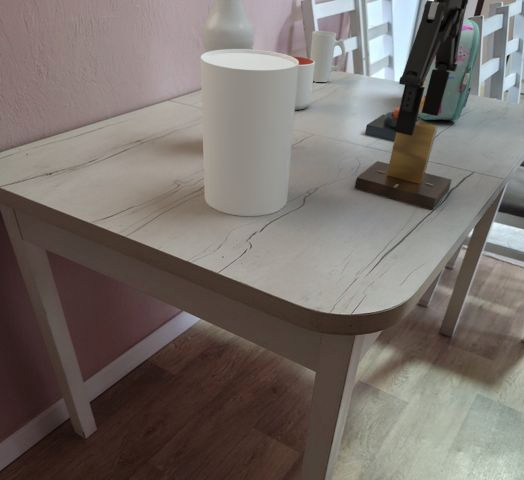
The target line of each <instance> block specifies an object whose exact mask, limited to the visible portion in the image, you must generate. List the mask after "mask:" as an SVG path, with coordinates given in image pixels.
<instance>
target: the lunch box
mask: <svg viewBox="0 0 524 480" xmlns="http://www.w3.org/2000/svg"><path fill="white" fill-rule="evenodd" d="M480 37H481V33H480V28H479V25H478V23H476V22H475V21H474V20H472V19H468V18H465V17H464V20H463V25H462V31H461V36H460V42H459V48H458V53H457V61H456V63H455V64H457V68H456V70H455V72H453V71H447V72H450V74H449V77H448V81H447V84H446V88H445V92H444V95H443V99H442V103H441V106H440V110H439V113H438V115H437V116H435V115H430V114H425V113H421V112H422V108H423V105H424V101H425V97H426V93H427V89H428V85H429V81H430V77H431V73H432V70H433V69H435V70H437V69H436V68H435V61H436V55H435V57H434V60H433V62H432V65H431V67H430V69H429V72H428V74H427V76H426V79H425V81H424V84H423V86H422V87H425V88H424V92H423V96H422V100H421V104H420V108H419V112H418V116H417V117H418V118H419V119H422V120H425V121H429V120H430V121H453V122H454V121H457V120H459V118H460V117H461V114H462V111H463V110H464V108H465V107H466V106H467V103H468V99H469V96H470V92H471V89H472V87H470V85H471V82H472V78H473V73H474V69H475V65H476V61H477V57H478V53H479V48H480V40H481V38H480Z"/></svg>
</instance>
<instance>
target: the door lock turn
mask: <svg viewBox="0 0 524 480" xmlns="http://www.w3.org/2000/svg"><path fill="white" fill-rule="evenodd" d="M437 132H438V125H434V124H429V123H424V122H420V121H418V122H416V124H415V128H414V132H413V135H412V136H411V135H406V134H402V133H398V132H396V136H395V141H393V145H392V149H391V154H390V159H389V163H388V164H389V168H388V172H387V176H391V177H395V178H399V179H403V180H406V181H410V182H414V183H418V184H420V183H421V182H422V181H423V179H424V175H425V173H426V171H427V169H428V168H427V167H428V165H429V164H428V163H429V160H430V157H431V153H432V150H433V145H434V142H435V139H436V135H437Z"/></svg>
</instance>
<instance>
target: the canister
mask: <svg viewBox="0 0 524 480" xmlns="http://www.w3.org/2000/svg"><path fill="white" fill-rule="evenodd" d="M291 56H292V55H289V54H286V53H280V52H275V51H269V50H261V49H252V50H251V49H225V50H215V51H210V52H206V53H205V52H203V53H202V54H201V55H200V80H201V81H200V82H201V113H202V114H201V118H202V151H203V152H202V155H203V183H204V184H203V185H204V188H203V189H204V201H205V202H206V204H207V205H208V206H209V207H211V208H212V209H214V210H216V211H218V212H221V213H223V214H228V215H232V216H237V217H238V216H240V217H260V216H261V217H262V216H266V215H269V214H270V215H271V214H273V213H276V212H279V211H280V210H282V209H283V208H284V207H285V206H286V204H287V202H288V189H289V178H290V167H291V157H292V156H291V155H292V146H293V133H294V120H295V113H296V112H295V111H296V110H295V100H296V89H297V78H298V66H299V61H298V60H297V59H296V58H294V57H291Z"/></svg>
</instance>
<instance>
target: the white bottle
mask: <svg viewBox="0 0 524 480" xmlns="http://www.w3.org/2000/svg"><path fill="white" fill-rule="evenodd" d="M202 43H203V47H204V50H205V52H204V53H206V52H210V51H215V50H225V49H251V50H253V47H254V43H255V30H254V26H253V24H252V22H251V20H250V18H249V17H248V14H247V13H246V10H245V4H244V0H213V4H212V7H211V11H210V13H209V15H208V16H207V18H206V20H205V21H204V23H203V26H202Z"/></svg>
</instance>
